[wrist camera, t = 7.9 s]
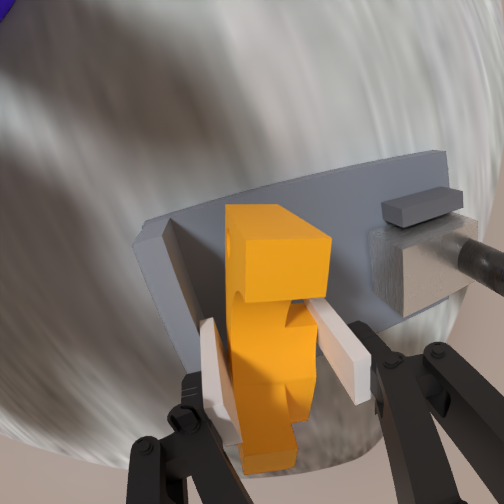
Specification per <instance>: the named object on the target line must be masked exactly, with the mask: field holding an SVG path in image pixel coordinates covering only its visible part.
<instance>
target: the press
mask: <svg viewBox="0 0 504 504" xmlns="http://www.w3.org/2000/svg"><path fill="white" fill-rule="evenodd" d="M226 204H278V205H280V206H282V207H283V208H285V209H287V210H288V211H290V212H291V213H293V214H295V215H296V216H298V217H299V218H301V219H303V220H304V221H306V222H307V223H309V224H311V225H312V226H314V227H315V228H317V229H319V230H320V231H322V232H323V233H325V234H326V235H328V236H330V237H331V238H332V243H331V253H330V263H329V272H328V281H327V289H326V297H324V298H325V300H326V301H327V302H328V303H329V304H330V306H331V307H332V308H333V309H334V310H335V312H336V313H337V314H338V315H339V316H340V318H341V319H342V320H343V321H344V323H345V324H346V325H347V324H350V323H352V322H355V321H358V320H359V321H361V322H364V323H366V324H367V325H368V326H369V327H370V328H371V329H372V331H374V332H375V333H378V332H380V331H382V330H384V329H387V328H389V327H391V326H393V325H396V324H398V323H400V322H402V321H404V320H406V319H409V318H411V317H413V316H415V315H417V314H419V313H421V312H423V311H425V310H427V309H429V308H431V307H433V306H435V305H437V304H439V303H441V302H443V301H445V300H447V299H448V298H449V296H447V297H445V298H443V299H441V300H439V301H437V302H435V303H433V304H431V305H429V306H427V307H425V308H423V309H421V310H419V311H417V312H415V313H412V314H410V315H408V316H406V317H404V318H403V317H402V316H401V315H400V314H398V313H397V312H396V311H395V310H394V309H393V308H392V307H390V306H389V305H388V304H387V303H386V302H385V301H383V300H382V299H381V298H380V297H379V296H378V295H376V294H375V293H374V292H373V286H372V272H371V260H370V249H369V240H368V231H371V230H374V229H377V228H381V227H384V226H387V225H390V224H395V225H398V226H400V227H402V228H404V227H407V226H410V225H413V224H416V223H419V222H422V221H425V220H428V219H431V218H434V217H437V216H440V215H443V214H446V213H449V212H452V211H455V210H458V209H461V208H463V191H460V190H455V189H451V188H449V176H448V166H447V157H446V151H437V150H432V151H426V152H420V153H414V154H409V155H403V156H398V157H392V158H387V159H382V160H377V161H372V162H367V163H362V164H357V165H353V166H348V167H343V168H339V169H334V170H330V171H325V172H321V173H317V174H312V175H308V176H304V177H300V178H296V179H291V180H287V181H283V182H279V183H275V184H272V185H268V186H264V187H260V188H256V189H252V190H249V191H245V192H241V193H238V194H234V195H230V196H227V197H223V198H220V199H216V200H213V201H209V202H206V203H202V204H199V205H196V206H192V207H189V208H186V209H182V210H179V211H176V212H172V213H169V214H166V215H163V216H160V217H156V218H153V219H150V220H147V221H145V223H144V224H143V225H142V231H141V232H140V234H139V235H138V236H137V238H136V239H135V241H134V242H133V244H132V247H133V250H134V253H135V255H136V258H137V261H138V263H139V266H140V269H141V271H142V274H143V276H144V279H145V281H146V284H147V286H148V289H149V291H150V294H151V296H152V298H153V301H154V303H155V306H156V308H157V310H158V313H159V315H160V317H161V319H162V322H163V324H164V326H165V328H166V331H167V333H168V335H169V337H170V339H171V342H172V344H173V346H174V348H175V350H176V352H177V354H178V356H179V358H180V360H181V362H182V364H183V367H184V369H185V371H186V373H187V374H189V373H194V372H198V371H201V347H200V321H201V320H205V319H208V318H212V317H213V319H214V322H215V324H216V327H217V330H218V332H219V335H220V338H221V340H222V343H223V346H224V348H225V351H226V354H227V328H226V267H225V205H226ZM295 303H304V300H303V299H296V300H292V301H291V304H295ZM322 354H324V353H323V352H322V350H321V349H320V347H319V345H318V344H317V342H316V357H317V356H320V355H322Z"/></svg>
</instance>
